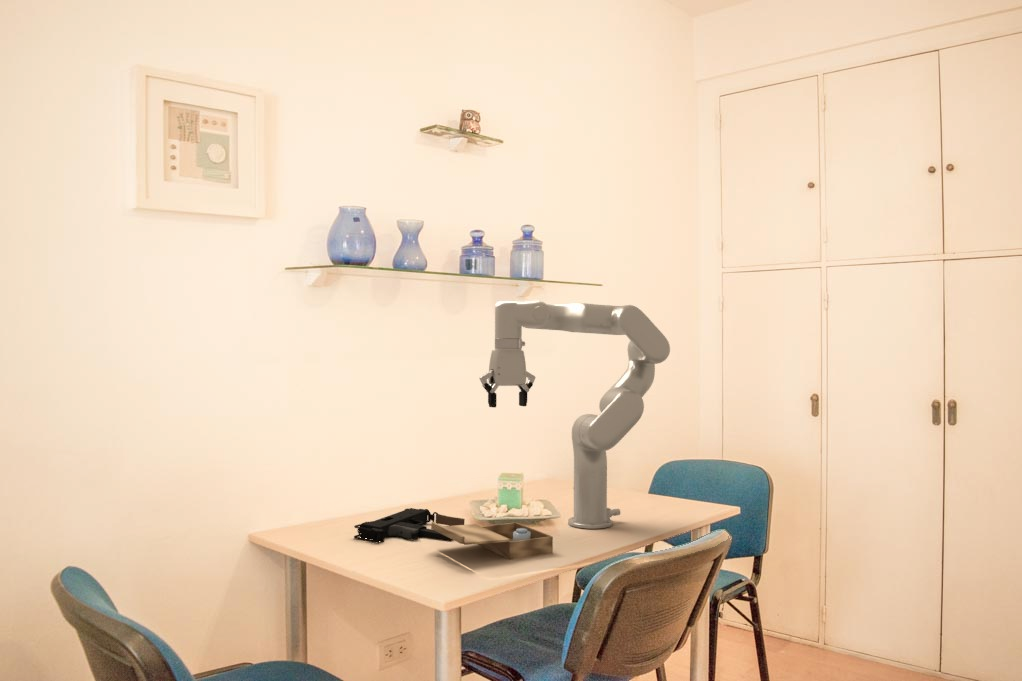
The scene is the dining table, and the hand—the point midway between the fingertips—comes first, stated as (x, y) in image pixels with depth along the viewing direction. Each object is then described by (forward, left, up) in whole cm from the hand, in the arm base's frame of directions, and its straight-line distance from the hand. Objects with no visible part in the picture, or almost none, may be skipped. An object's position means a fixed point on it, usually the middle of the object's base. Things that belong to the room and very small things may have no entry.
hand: (507, 406), depth 220 cm
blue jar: (+7, +20, -34) cm, 40 cm away
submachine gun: (+23, -7, -35) cm, 42 cm away
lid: (+22, +20, -27) cm, 40 cm away
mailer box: (+10, +20, -34) cm, 41 cm away
